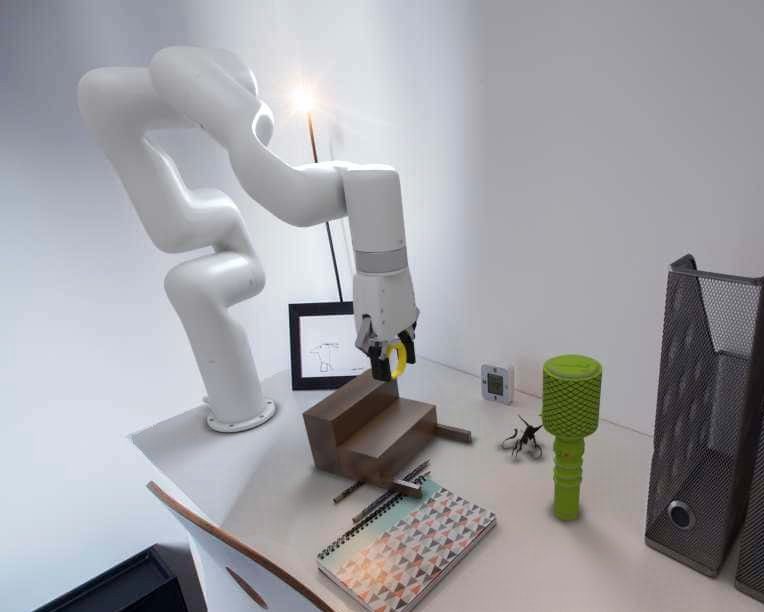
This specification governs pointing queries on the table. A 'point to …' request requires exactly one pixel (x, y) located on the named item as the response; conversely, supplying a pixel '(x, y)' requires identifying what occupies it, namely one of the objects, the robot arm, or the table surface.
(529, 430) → the creature
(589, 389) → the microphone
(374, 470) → the step shelf
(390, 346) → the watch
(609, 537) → the table surface
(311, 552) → the table surface
